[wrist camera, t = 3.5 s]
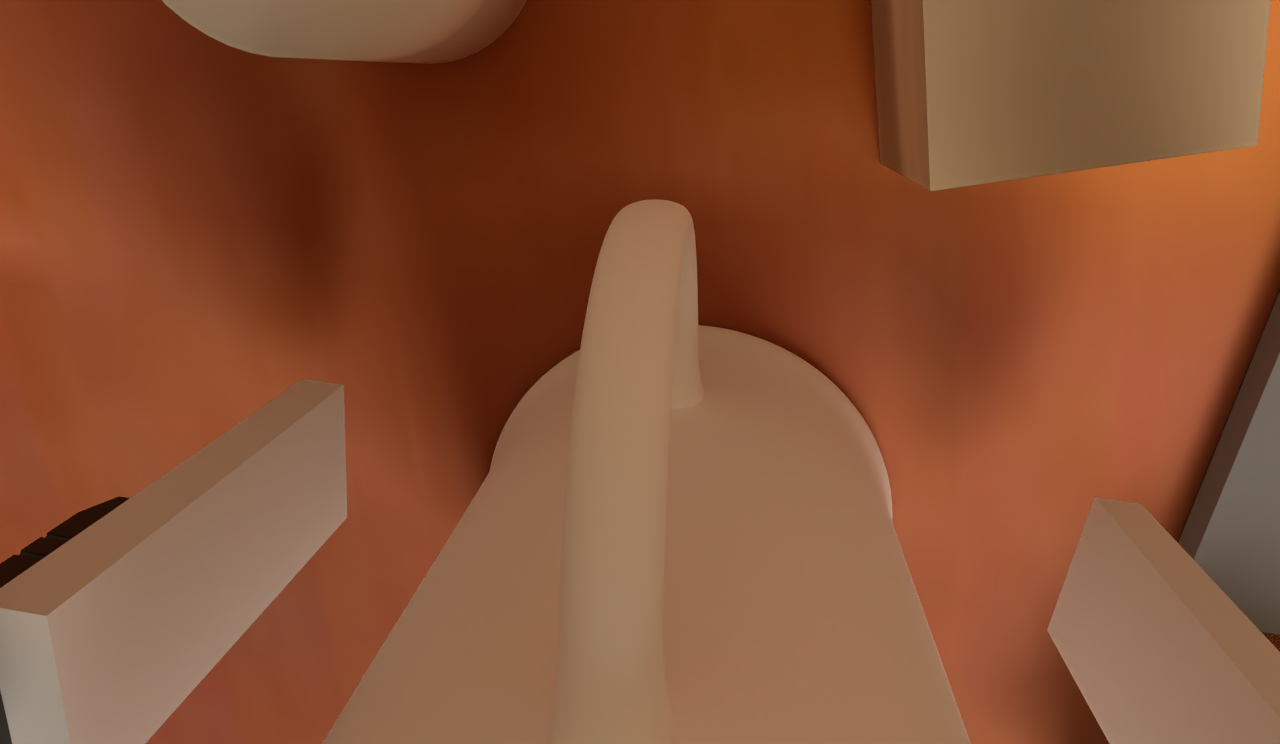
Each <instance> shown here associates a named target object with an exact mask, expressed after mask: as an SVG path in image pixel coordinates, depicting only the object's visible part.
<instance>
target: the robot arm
mask: <svg viewBox="0 0 1280 744" xmlns="http://www.w3.org/2000/svg"><path fill="white" fill-rule="evenodd" d="M346 518H347V491H346V451H345V410H344V385H343V384H336V383H330V382H323V381H316V380H310V379H302V380H300V381H299V382H297V383H296V384H294V385H293V386H292V387H290V388H289V389H287V390H286V391H284V392H283V393H281V394H280V395H279V396H277V397H276V398H274V399H273V400H271V401H270V402H268V403H267V404H266V405H264V406H263V407H261V408H260V409H258V410H257V411H255V412H254V413H253V414H251V415H250V416H248V417H247V418H245V419H244V420H242V421H241V422H240V423H238V424H237V425H235V426H234V427H232V428H231V429H229V430H228V431H227V432H225V433H224V434H222V435H221V436H219V437H218V438H216V439H215V440H214V441H212V442H211V443H209V444H208V445H206V446H205V447H203V448H202V449H201V450H199V451H198V452H196V453H195V454H193V455H192V456H190V457H189V458H188V459H186V460H185V461H183V462H182V463H180V464H179V465H177V466H176V467H175V468H173V469H172V470H170V471H169V472H167V473H166V474H164V475H163V476H162V477H160V478H159V479H157V480H156V481H154V482H153V483H151V484H150V485H149V486H147V487H146V488H144V489H143V490H141V491H140V492H138V493H137V494H136V495H134V496H133V497H131V498H125V497H117V498H114V499H111V500H109V501H106V502H104V503H101V504H99V505H96V506H93V507H91V508H88V509H86V510H83V511H81V512H78V513H77V514H75V515H74V516H72V517H71V518H69V519H68V520H66V521H65V522H63V523H62V524H60V525H59V526H57V527H56V528H54V529H53V530H51V531H49V532H48V533H47V536H46V538H43V537H40V538H39V539H37V540H36V541H34V542H33V543H31V544H30V545H28V546H27V547H25V548H24V549H22V550H21V553H20V555H19V556H18V555H13V556H12V557H10V558H9V559H7V560H6V561H4V562H2V563H1V564H0V744H145V743H146V742H147V741H148V740H149V739H150V738H151V737H152V735H153V734H154V733H155V732H156V731H157V730H158V729H159V728H160V727H161V725H162V724H163V723H164V722H165V721H166V720H167V719H168V718H169V716H170V715H171V714H172V713H173V712H174V711H175V710H176V709H177V707H178V706H179V705H180V704H181V703H182V702H183V701H184V700H185V698H186V697H187V696H188V695H189V694H190V693H191V692H192V691H193V689H194V688H195V687H196V686H197V685H198V684H199V683H200V682H201V681H202V679H203V678H204V677H205V676H206V675H207V674H208V673H209V672H210V670H211V669H212V668H213V667H214V666H215V665H216V664H217V663H218V661H219V660H220V659H221V658H222V657H223V656H224V655H225V654H226V652H227V651H228V650H229V649H230V648H231V647H232V646H233V645H234V644H235V642H236V641H237V640H238V639H239V638H240V637H241V636H242V635H243V633H244V632H245V631H246V630H247V629H248V628H249V627H250V626H251V624H252V623H253V622H254V621H255V620H256V619H257V618H258V617H259V615H260V614H261V613H262V612H263V611H264V610H265V609H266V608H267V607H268V605H269V604H270V603H271V602H272V601H273V600H274V599H275V598H276V596H277V595H278V594H279V593H280V592H281V591H282V590H283V589H284V587H285V586H286V585H287V584H288V583H289V582H290V581H291V580H292V578H293V577H294V576H295V575H296V574H297V573H298V572H299V571H300V569H301V568H302V567H303V566H304V565H305V564H306V563H307V562H308V561H309V559H310V558H311V557H312V556H313V555H314V554H315V553H316V552H317V550H318V549H319V548H320V547H321V546H322V545H323V544H324V543H325V541H326V540H327V539H328V538H329V537H330V536H331V535H332V534H333V532H334V531H335V530H336V529H337V528H338V527H339V526H340V525H341V524H342V522H343V521H344V520H345V519H346ZM1047 631H1048V633H1049V635H1050V637H1051V638H1052V640H1053V642H1054V644H1055V646H1056V647H1057V649H1058V651H1059V653H1060V655H1061V657H1062V658H1063V660H1064V662H1065V664H1066V666H1067V667H1068V669H1069V671H1070V673H1071V675H1072V677H1073V678H1074V680H1075V682H1076V684H1077V686H1078V687H1079V689H1080V691H1081V693H1082V695H1083V696H1084V698H1085V700H1086V702H1087V704H1088V706H1089V707H1090V709H1091V711H1092V713H1093V715H1094V716H1095V718H1096V720H1097V722H1098V724H1099V726H1100V727H1101V729H1102V731H1103V733H1104V735H1105V736H1106V738H1107V740H1108V742H1109V744H1280V652H1279V651H1278V650H1277V649H1276V647H1275V646H1274V645H1273V644H1272V643H1271V642H1270V641H1269V640H1268V639H1267V638H1266V637H1265V636H1264V635H1263V634H1262V632H1261V631H1260V630H1259V629H1258V628H1257V627H1256V626H1255V625H1254V624H1253V623H1252V622H1251V621H1250V620H1249V619H1248V617H1247V616H1246V615H1245V614H1244V613H1243V612H1242V611H1241V610H1240V609H1239V608H1238V607H1237V606H1236V605H1235V604H1234V602H1233V601H1232V600H1231V599H1230V598H1229V597H1228V596H1227V595H1226V594H1225V593H1224V592H1223V591H1222V590H1221V589H1220V587H1219V586H1218V585H1217V584H1216V583H1215V582H1214V581H1213V580H1212V579H1211V578H1210V577H1209V576H1208V575H1207V574H1206V572H1205V571H1204V570H1203V569H1202V568H1201V567H1200V566H1199V565H1198V564H1197V563H1196V562H1195V561H1194V560H1193V559H1192V557H1191V556H1190V555H1189V554H1188V553H1187V552H1186V551H1185V550H1184V549H1183V548H1182V547H1181V546H1180V545H1179V544H1178V542H1177V541H1176V540H1175V539H1174V538H1173V537H1172V536H1171V535H1170V534H1169V533H1168V532H1167V531H1166V530H1165V529H1164V527H1163V526H1162V525H1161V524H1160V523H1159V522H1158V521H1157V520H1156V519H1155V518H1154V517H1153V516H1152V515H1151V514H1150V512H1149V511H1148V510H1147V509H1146V508H1145V507H1144V506H1143V505H1142V504H1139V503H1132V502H1125V501H1119V500H1112V499H1105V498H1099V497H1094V500H1093V502H1092V505H1091V508H1090V511H1089V514H1088V517H1087V519H1086V522H1085V525H1084V528H1083V531H1082V533H1081V536H1080V539H1079V542H1078V545H1077V548H1076V550H1075V553H1074V556H1073V559H1072V562H1071V564H1070V567H1069V570H1068V573H1067V576H1066V579H1065V581H1064V584H1063V587H1062V590H1061V593H1060V595H1059V598H1058V601H1057V604H1056V607H1055V610H1054V612H1053V615H1052V618H1051V621H1050V624H1049V627H1048V629H1047Z"/></svg>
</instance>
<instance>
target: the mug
mask: <svg viewBox="0 0 1280 744" xmlns="http://www.w3.org/2000/svg"><path fill="white" fill-rule="evenodd" d="M322 744H971V743H970V740H969V737H968V734H967V732H966V729H965V726H964V723H963V720H962V718H961V715H960V712H959V709H958V706H957V704H956V701H955V698H954V695H953V692H952V689H951V687H950V684H949V681H948V678H947V675H946V673H945V670H944V667H943V664H942V661H941V659H940V656H939V653H938V650H937V647H936V645H935V642H934V639H933V636H932V633H931V631H930V628H929V625H928V622H927V619H926V616H925V614H924V611H923V608H922V605H921V602H920V600H919V597H918V594H917V591H916V588H915V586H914V583H913V580H912V577H911V574H910V572H909V569H908V566H907V563H906V560H905V557H904V555H903V552H902V549H901V546H900V543H899V540H898V537H897V535H896V532H895V529H894V526H893V523H892V499H891V490H890V484H889V479H888V474H887V470H886V467H885V463H884V460H883V457H882V455H881V452H880V450H879V447H878V445H877V443H876V440H875V438H874V436H873V434H872V432H871V431H870V429H869V427H868V425H867V424H866V422H865V420H864V419H863V417H862V416H861V414H860V413H859V412H858V410H857V409H856V408H855V406H854V405H853V404H852V402H851V401H850V400H849V399H848V398H847V397H846V395H845V394H844V393H843V392H842V391H841V390H840V389H839V388H838V387H837V386H836V385H835V384H834V383H833V382H832V381H831V380H830V379H828V378H827V377H826V376H825V375H824V374H822V373H821V372H820V371H819V370H817V369H816V368H815V367H813V366H812V365H811V364H809V363H808V362H806V361H805V360H803V359H801V358H800V357H798V356H797V355H795V354H793V353H791V352H789V351H788V350H786V349H784V348H782V347H780V346H777V345H775V344H773V343H771V342H768V341H766V340H763V339H761V338H758V337H755V336H752V335H749V334H745V333H742V332H738V331H734V330H730V329H725V328H719V327H712V326H704V325H698V285H697V259H696V243H695V232H694V225H693V221H692V217H691V215H690V213H689V211H688V210H687V209H686V208H685V207H684V206H682V205H681V204H678V203H676V202H672V201H668V200H656V199H655V200H642V201H638V202H634V203H631V204H629V205H627V206H626V207H624V208H623V209H622V210H620V211H619V212H618V213H617V215H616V216H615V217H614V219H613V221H612V222H611V224H610V226H609V229H608V231H607V233H606V235H605V238H604V241H603V244H602V247H601V250H600V253H599V257H598V260H597V264H596V268H595V272H594V276H593V281H592V285H591V290H590V295H589V300H588V305H587V311H586V316H585V322H584V328H583V334H582V340H581V347H580V350H578V351H576V352H575V353H573V354H571V355H570V356H568V357H567V358H565V359H564V360H562V361H561V362H559V363H558V364H557V365H555V366H554V367H553V368H551V369H550V370H549V371H548V372H547V373H546V374H544V375H543V376H542V377H541V378H540V379H539V380H538V381H537V382H536V383H535V384H534V385H533V386H532V387H531V388H530V389H529V390H528V392H527V393H526V394H525V395H524V396H523V398H522V399H521V400H520V402H519V403H518V404H517V406H516V407H515V409H514V410H513V412H512V414H511V415H510V417H509V419H508V420H507V422H506V424H505V426H504V428H503V430H502V432H501V435H500V437H499V440H498V442H497V445H496V448H495V451H494V454H493V458H492V461H491V466H490V471H489V473H488V475H487V477H486V478H485V480H484V482H483V483H482V485H481V487H480V488H479V490H478V492H477V493H476V495H475V496H474V498H473V500H472V501H471V503H470V505H469V506H468V508H467V509H466V511H465V513H464V514H463V516H462V518H461V519H460V521H459V522H458V524H457V526H456V527H455V529H454V530H453V532H452V534H451V535H450V537H449V539H448V540H447V542H446V543H445V545H444V547H443V548H442V550H441V552H440V553H439V555H438V556H437V558H436V560H435V561H434V563H433V564H432V566H431V568H430V569H429V571H428V573H427V574H426V576H425V577H424V579H423V581H422V582H421V584H420V585H419V587H418V589H417V590H416V592H415V594H414V595H413V597H412V598H411V600H410V602H409V603H408V605H407V607H406V608H405V610H404V611H403V613H402V615H401V616H400V618H399V619H398V621H397V623H396V624H395V626H394V628H393V629H392V631H391V632H390V634H389V636H388V637H387V639H386V640H385V642H384V644H383V645H382V647H381V649H380V650H379V652H378V653H377V655H376V657H375V658H374V660H373V662H372V663H371V665H370V666H369V668H368V670H367V671H366V673H365V674H364V676H363V678H362V679H361V681H360V683H359V684H358V686H357V687H356V689H355V691H354V692H353V694H352V696H351V697H350V699H349V700H348V702H347V704H346V705H345V707H344V708H343V710H342V712H341V713H340V715H339V717H338V718H337V720H336V721H335V723H334V725H333V726H332V728H331V729H330V731H329V733H328V734H327V736H326V738H325V739H324V741H323V742H322Z"/></svg>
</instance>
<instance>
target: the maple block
mask: <svg viewBox="0 0 1280 744" xmlns="http://www.w3.org/2000/svg"><path fill="white" fill-rule="evenodd" d="M1269 11H1270V0H871V14H872V31H873V48H874V66H875V83H876V100H877V117H878V135H879V152H880V163H881V164H883V165H885V166H886V167H888V168H890V169H892V170H893V171H895V172H897V173H899V174H901V175H902V176H904V177H906V178H908V179H909V180H911V181H913V182H915V183H916V184H918V185H920V186H922V187H924V188H925V189H927V190H929V191H936V190H943V189H950V188H957V187H964V186H971V185H978V184H986V183H993V182H1000V181H1007V180H1014V179H1021V178H1029V177H1036V176H1043V175H1050V174H1057V173H1064V172H1072V171H1079V170H1086V169H1093V168H1100V167H1107V166H1114V165H1122V164H1129V163H1136V162H1143V161H1150V160H1157V159H1165V158H1172V157H1179V156H1186V155H1193V154H1200V153H1207V152H1215V151H1222V150H1229V149H1236V148H1243V147H1250V146H1257V145H1258V134H1259V123H1260V111H1261V100H1262V89H1263V78H1264V67H1265V55H1266V44H1267V33H1268V22H1269Z"/></svg>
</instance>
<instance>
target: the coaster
mask: <svg viewBox="0 0 1280 744" xmlns="http://www.w3.org/2000/svg"><path fill="white" fill-rule="evenodd" d="M1178 544H1179V545H1180V546H1181V547H1182V548H1183V549H1184V550H1185V551H1186V552H1187V553H1188V554H1189V555H1190V556H1191V557H1192V559H1193V560H1194V561H1195V562H1196V563H1197V564H1198V565H1199V566H1200V567H1201V568H1202V569H1203V570H1204V571H1205V572H1206V574H1207V575H1208V576H1209V577H1210V578H1211V579H1212V580H1213V581H1214V582H1215V583H1216V584H1217V585H1218V586H1219V587H1220V589H1221V590H1222V591H1223V592H1224V593H1225V594H1226V595H1227V596H1228V597H1229V598H1230V599H1231V600H1232V601H1233V602H1234V604H1235V605H1236V606H1237V607H1238V608H1239V609H1240V610H1241V611H1242V612H1243V613H1244V614H1245V615H1246V616H1247V617H1248V619H1249V620H1250V621H1251V622H1252V623H1253V624H1254V625H1255V626H1256V627H1257V628H1258V629H1259V630H1260V631H1261V632H1263V633H1270V634H1276V635H1280V292H1279V294H1278V296H1277V299H1276V301H1275V304H1274V306H1273V309H1272V311H1271V314H1270V316H1269V319H1268V321H1267V324H1266V326H1265V329H1264V331H1263V334H1262V336H1261V339H1260V341H1259V344H1258V346H1257V349H1256V351H1255V353H1254V356H1253V358H1252V361H1251V363H1250V366H1249V368H1248V371H1247V373H1246V376H1245V378H1244V381H1243V383H1242V386H1241V388H1240V391H1239V393H1238V396H1237V398H1236V401H1235V403H1234V406H1233V408H1232V410H1231V413H1230V415H1229V418H1228V420H1227V423H1226V425H1225V428H1224V430H1223V433H1222V435H1221V438H1220V440H1219V443H1218V445H1217V448H1216V450H1215V453H1214V455H1213V458H1212V460H1211V463H1210V465H1209V467H1208V470H1207V472H1206V475H1205V477H1204V480H1203V482H1202V485H1201V487H1200V490H1199V492H1198V495H1197V497H1196V500H1195V502H1194V505H1193V507H1192V510H1191V512H1190V515H1189V517H1188V520H1187V522H1186V524H1185V527H1184V529H1183V532H1182V534H1181V537H1180V539H1179V542H1178Z"/></svg>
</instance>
